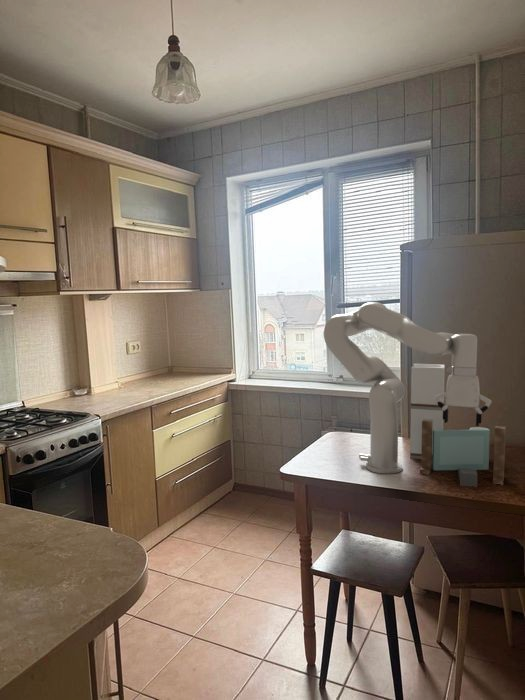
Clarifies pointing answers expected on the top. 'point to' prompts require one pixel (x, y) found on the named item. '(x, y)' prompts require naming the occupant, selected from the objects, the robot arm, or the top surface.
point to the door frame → (498, 451)
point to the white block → (425, 402)
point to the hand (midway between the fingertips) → (461, 423)
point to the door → (460, 449)
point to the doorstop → (467, 477)
